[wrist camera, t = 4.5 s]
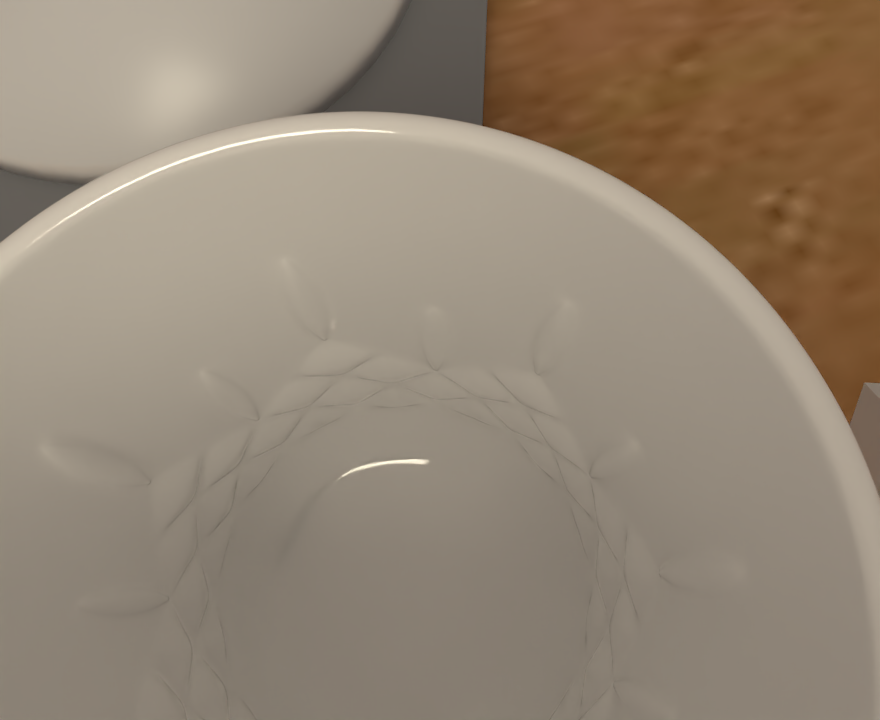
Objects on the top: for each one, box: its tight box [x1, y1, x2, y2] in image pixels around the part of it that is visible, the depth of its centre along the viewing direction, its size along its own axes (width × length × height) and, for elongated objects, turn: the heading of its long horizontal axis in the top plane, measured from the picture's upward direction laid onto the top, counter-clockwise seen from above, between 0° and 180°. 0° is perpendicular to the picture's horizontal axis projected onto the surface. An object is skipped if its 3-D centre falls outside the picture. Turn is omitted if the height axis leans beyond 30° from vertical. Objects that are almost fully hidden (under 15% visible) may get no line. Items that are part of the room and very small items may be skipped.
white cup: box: [0, 111, 880, 720], centre depth 10 cm, size 8×8×10 cm
